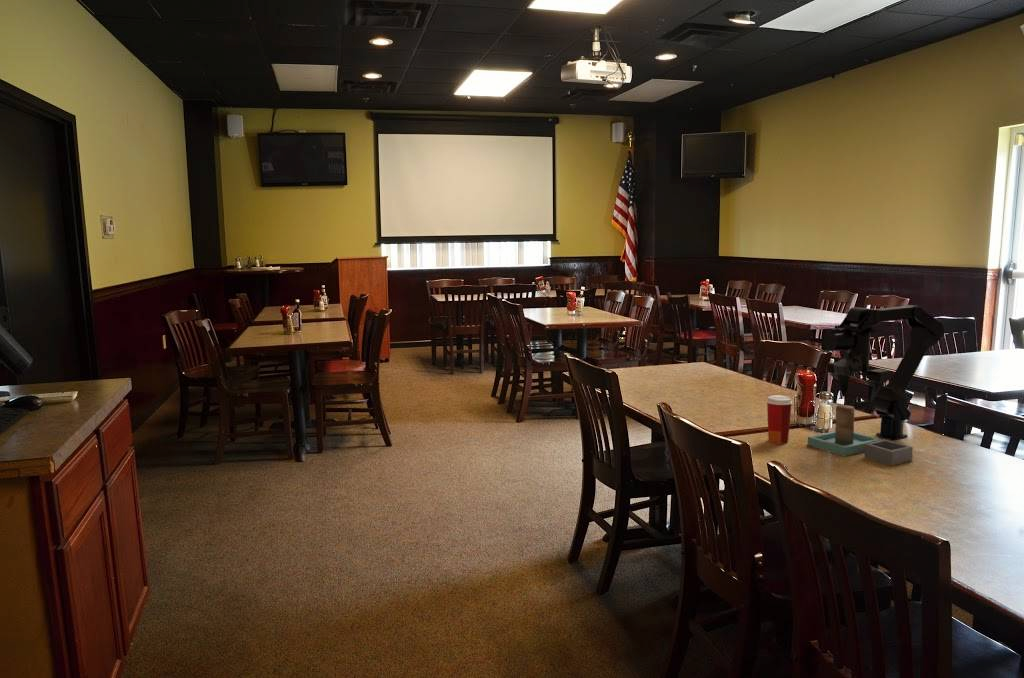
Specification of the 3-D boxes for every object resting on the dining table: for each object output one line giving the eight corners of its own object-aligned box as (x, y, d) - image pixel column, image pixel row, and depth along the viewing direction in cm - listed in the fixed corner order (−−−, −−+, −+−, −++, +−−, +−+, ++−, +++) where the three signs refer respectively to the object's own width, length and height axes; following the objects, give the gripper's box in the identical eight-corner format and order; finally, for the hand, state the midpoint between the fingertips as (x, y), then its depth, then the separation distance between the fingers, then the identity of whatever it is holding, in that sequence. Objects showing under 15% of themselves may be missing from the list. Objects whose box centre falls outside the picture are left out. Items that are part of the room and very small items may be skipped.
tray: (843, 436, 225) (844, 429, 225) (881, 447, 214) (881, 439, 213) (807, 444, 218) (807, 436, 218) (844, 456, 207) (844, 447, 206)
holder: (884, 452, 209) (884, 439, 208) (912, 460, 201) (912, 446, 200) (864, 457, 205) (864, 443, 204) (891, 465, 197) (892, 451, 197)
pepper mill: (842, 439, 219) (843, 404, 217) (856, 443, 215) (858, 407, 213) (831, 442, 217) (832, 406, 215) (845, 446, 212) (846, 410, 211)
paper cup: (787, 438, 226) (788, 394, 223) (794, 445, 218) (795, 400, 216) (761, 438, 226) (763, 394, 224) (768, 445, 219) (769, 400, 217)
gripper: (815, 347, 222) (813, 396, 224) (868, 356, 206) (865, 408, 208) (839, 344, 227) (837, 392, 229) (894, 352, 210) (891, 404, 213)
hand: (856, 399), depth 220 cm, fingers open, 9 cm apart
